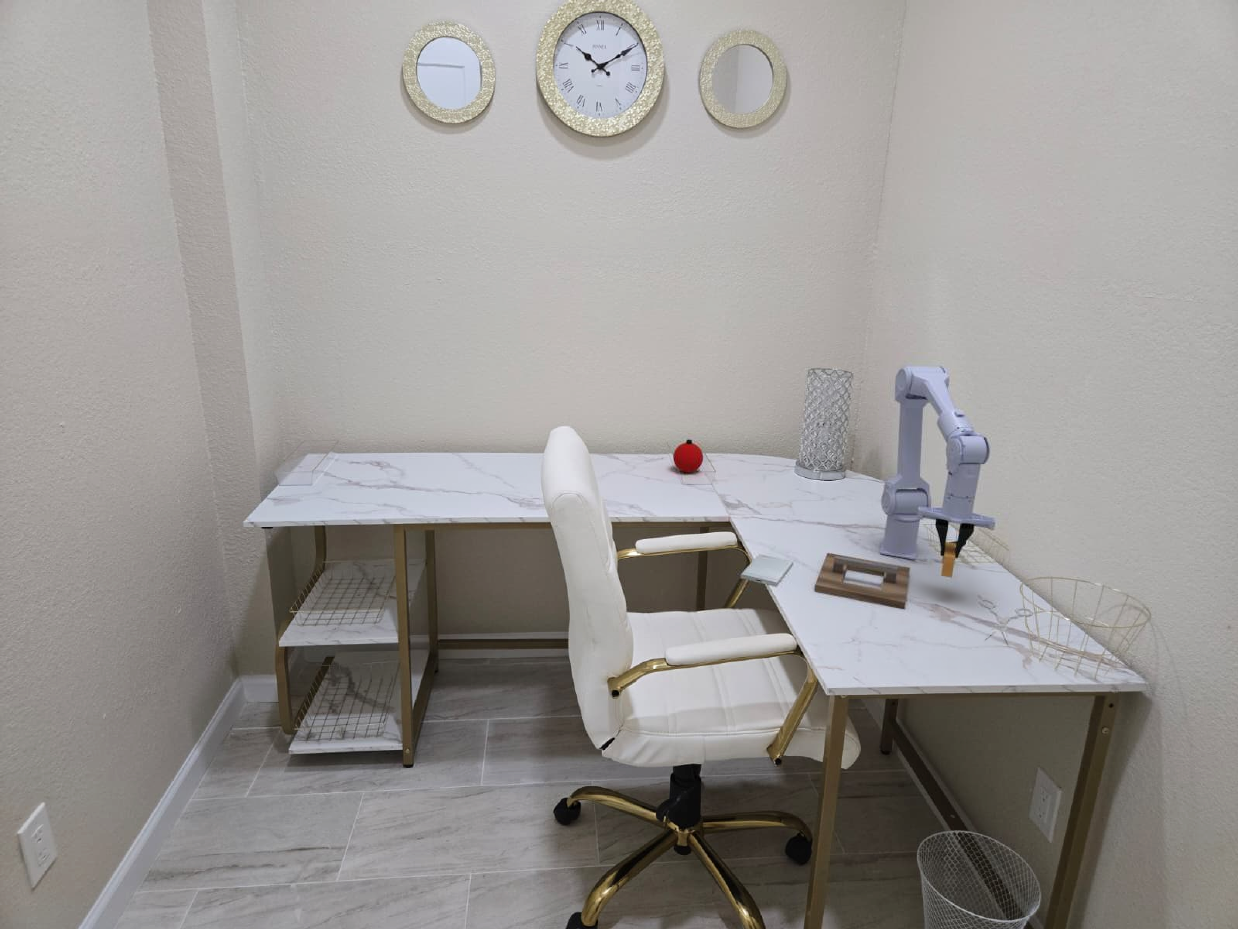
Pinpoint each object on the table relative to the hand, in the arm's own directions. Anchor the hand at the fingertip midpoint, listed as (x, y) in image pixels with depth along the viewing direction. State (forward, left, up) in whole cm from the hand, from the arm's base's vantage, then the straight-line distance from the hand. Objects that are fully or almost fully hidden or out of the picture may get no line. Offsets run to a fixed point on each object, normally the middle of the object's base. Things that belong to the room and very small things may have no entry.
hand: (949, 555), depth 164 cm
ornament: (-54, -73, -9) cm, 91 cm away
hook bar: (+1, -16, -8) cm, 18 cm away
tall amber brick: (0, 0, -3) cm, 3 cm away
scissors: (+7, +11, -10) cm, 16 cm away
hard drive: (+5, -36, -10) cm, 38 cm away
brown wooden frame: (+1, -16, -9) cm, 18 cm away
